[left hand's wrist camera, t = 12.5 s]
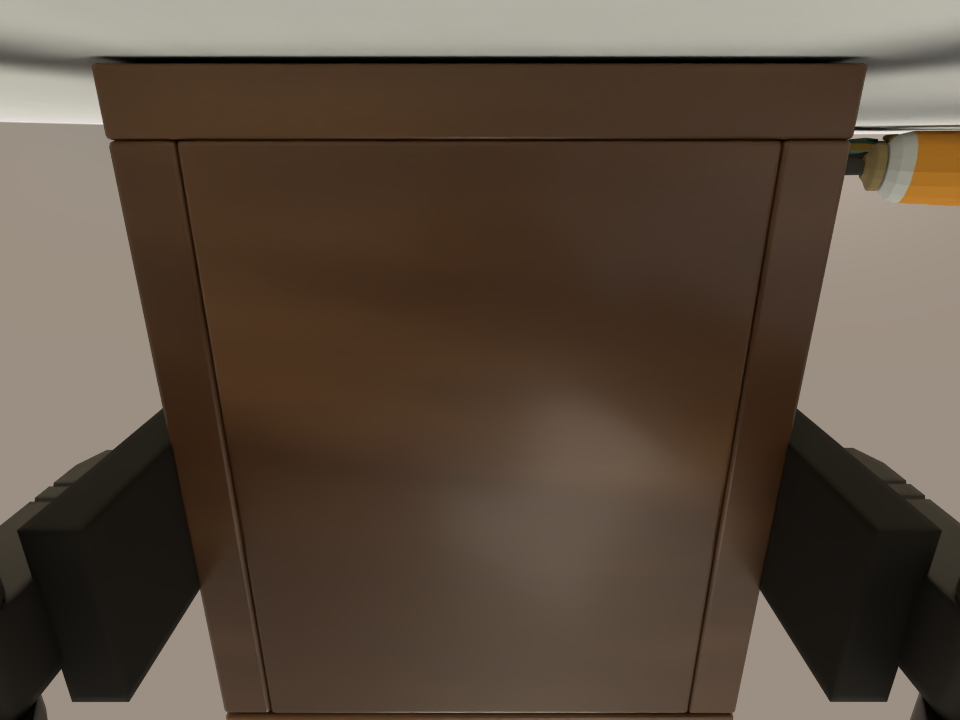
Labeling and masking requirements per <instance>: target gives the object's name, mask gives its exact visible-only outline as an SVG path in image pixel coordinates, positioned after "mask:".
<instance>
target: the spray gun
mask: <svg viewBox="0 0 960 720" xmlns="http://www.w3.org/2000/svg"><path fill="white" fill-rule="evenodd" d="M883 140H884V141H878V139H872V138H858V139H849V140H847V141H849V142H850V151H849V155H848V160H847V165H846V170H845V175H859V178H860V179H861V181H862V182H863V185H864V188H865V190H866V191H875V190H876V191H877V192H878V193H879V194H880V196H881V197H882V198H883V199H884V200H887V201H891V202H894V203H908V204H928V205H949V206H960V131H912V132H908V133H903V134H900V135H899V134H892V135H885V136H884V137H883Z"/></svg>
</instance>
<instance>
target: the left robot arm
mask: <svg viewBox="0 0 960 720" xmlns="http://www.w3.org/2000/svg"><path fill="white" fill-rule="evenodd" d="M199 590H200V586H199V581H198V576H197V571H196V566H195V561H194V557H193V552H192V547H191V542H190V537H189V532H188V527H187V522H186V518H185V513H184V508H183V503H182V498H181V493H180V488H179V483H178V479H177V474H176V469H175V464H174V459H173V454H172V449H171V444H170V440H169V435H168V430H167V426H166V421H165V416H164V411H163V409H161V410H160V411H159V412H158V413H157V414H155V415H154V416H153V417H152V418H151V419H149V420H148V421H147V422H146V423H145V424H143V425H142V426H141V427H140V428H139V429H137V430H136V431H135V432H134V433H133V434H131V435H130V436H129V437H128V438H127V439H125V440H124V441H123V442H122V443H121V444H119V445H118V446H117V447H116V448H115V449H114V450H106V451H104V452H102V453H100V454H98V455H96V456H94V457H92V458H90V459H88V460H86V461H84V462H82V463H79V464H77V465H76V466H74V467H73V468H72V469H71V470H69V471H68V472H67V473H66V474H64V475H63V476H62V477H61V478H59V479H58V480H57V481H56V482H54V486H53V487H48V488H47V489H46V490H44V491H43V492H42V493H41V494H39V495H38V496H37V497H36V498H35V501H34V502H29V503H28V504H27V505H25V506H24V507H23V508H22V509H20V510H19V511H18V512H17V513H15V514H14V515H13V516H12V517H10V518H9V519H8V520H7V521H5V522H4V523H3V524H2V525H0V720H47V712H46V707H45V704H44V701H43V698H42V695H41V694H42V692H43V691H44V690H45V689H46V687H47V686H48V685H49V684H50V682H51V681H52V680H53V679H54V677H55V676H56V675H57V674H58V672H59V671H60V670H61V669H62V672H63V675H64V678H65V681H66V684H67V687H68V690H69V693H70V696H71V699H72V702H129V701H130V699H131V698H132V696H133V695H134V693H135V692H136V690H137V688H138V687H139V685H140V684H141V682H142V680H143V679H144V677H145V676H146V674H147V672H148V671H149V669H150V668H151V666H152V664H153V663H154V661H155V660H156V658H157V656H158V655H159V653H160V652H161V650H162V648H163V647H164V645H165V644H166V642H167V641H168V639H169V637H170V636H171V634H172V633H173V631H174V629H175V628H176V626H177V624H178V623H179V621H180V620H181V618H182V617H183V615H184V613H185V612H186V610H187V609H188V607H189V605H190V604H191V602H192V601H193V599H194V597H195V596H196V594H197V593H198V591H199ZM760 591H761V592H762V594H763V595H764V597H765V598H766V600H767V602H768V603H769V605H770V606H771V608H772V610H773V611H774V613H775V614H776V616H777V618H778V619H779V621H780V622H781V624H782V626H783V627H784V629H785V630H786V632H787V634H788V635H789V637H790V638H791V640H792V642H793V643H794V645H795V646H796V648H797V650H798V651H799V653H800V654H801V656H802V658H803V659H804V661H805V662H806V664H807V665H808V667H809V669H810V670H811V672H812V673H813V675H814V677H815V678H816V680H817V681H818V683H819V685H820V686H821V688H822V689H823V691H824V693H825V694H826V696H827V697H828V699H829V701H830V702H887V700H888V697H889V694H890V691H891V688H892V685H893V681H894V678H895V675H896V672H897V669H898V666H899V667H900V669H901V670H902V671H903V672H904V674H905V675H906V676H907V677H908V679H909V680H910V681H911V682H912V684H913V685H914V686H915V687H916V689H917V690H918V691H919V695H918V698H917V701H916V704H915V707H914V710H913V713H912V716H911V718H910V720H960V523H959V522H958V521H956V520H955V519H954V518H953V517H951V516H950V515H949V514H948V513H946V512H945V511H944V510H943V509H941V508H940V507H939V506H937V505H936V504H935V503H934V502H932V501H931V500H930V499H925V495H924V494H922V493H921V492H920V491H919V490H917V489H916V488H915V487H913V486H912V485H911V484H906V480H905V479H903V478H902V477H901V476H900V475H898V474H897V473H896V472H895V471H893V470H892V469H891V468H890V467H888V466H887V465H886V464H884V463H883V462H881V461H879V460H877V459H875V458H873V457H870V456H868V455H866V454H864V453H862V452H860V451H858V450H856V449H854V448H843V447H842V446H841V445H840V444H839V443H837V442H836V441H835V440H834V439H833V438H831V437H830V436H829V435H828V434H827V433H825V432H824V431H823V430H822V429H821V428H819V427H818V426H817V425H816V424H815V423H813V422H812V421H811V420H810V419H809V418H808V417H806V416H805V415H804V414H803V413H802V412H800V411H799V410H798V409H796V414H795V419H794V424H793V429H792V434H791V439H790V444H789V447H788V452H787V457H786V462H785V467H784V472H783V477H782V482H781V486H780V491H779V496H778V501H777V506H776V511H775V516H774V521H773V526H772V530H771V535H770V540H769V545H768V550H767V555H766V560H765V565H764V570H763V574H762V579H761V584H760Z"/></svg>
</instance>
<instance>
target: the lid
mask: <svg viewBox="0 0 960 720" xmlns="http://www.w3.org/2000/svg"><path fill="white" fill-rule="evenodd" d="M226 720H733V714H732V713H691V712H689V710H687V712H685V713H274V712H273V711H272V708H271V710H270V711H269V712H228V713H227V715H226Z"/></svg>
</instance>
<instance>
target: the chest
mask: <svg viewBox="0 0 960 720" xmlns="http://www.w3.org/2000/svg"><path fill="white" fill-rule="evenodd" d="M866 70H867V65H865V64H863V63H96V64H94V65H92V71H93V76H94V80H95V85H96V90H97V95H98V100H99V105H100V110H101V114H102V119H103V124H104V129H105V134H106V136H107V138H108V139H111V140H114V141H112V142H111V143H110V146H109V148H110V153H111V158H112V162H113V167H114V172H115V177H116V182H117V187H118V192H119V196H120V201H121V206H122V211H123V216H124V221H125V226H126V231H127V236H128V240H129V245H130V250H131V255H132V260H133V265H134V270H135V274H136V279H137V284H138V289H139V294H140V299H141V304H142V309H143V313H144V318H145V323H146V328H147V333H148V338H149V343H150V347H151V352H152V357H153V362H154V367H155V372H156V377H157V382H158V386H159V391H160V396H161V401H162V406H163V411H164V416H165V421H166V426H167V430H168V435H169V440H170V444H171V449H172V454H173V459H174V464H175V469H176V474H177V479H178V483H179V488H180V493H181V498H182V503H183V508H184V513H185V518H186V522H187V527H188V532H189V537H190V542H191V547H192V552H193V557H194V561H195V566H196V571H197V576H198V581H199V586H200V591H201V596H202V601H203V606H204V611H205V616H206V620H207V625H208V630H209V635H210V640H211V645H212V650H213V655H214V659H215V664H216V669H217V674H218V679H219V684H220V689H221V694H222V698H223V703H224V708H225V711H226V712H269V711H270V710H271V708H272V711H273V712H274V713H685V712H687V710H689V712H691V713H733V712H734V711H735V707H736V703H737V698H738V693H739V688H740V683H741V678H742V673H743V668H744V663H745V659H746V654H747V649H748V644H749V639H750V634H751V629H752V624H753V619H754V615H755V610H756V605H757V600H758V595H759V590H760V584H761V579H762V574H763V570H764V565H765V560H766V555H767V550H768V545H769V540H770V535H771V530H772V526H773V521H774V516H775V511H776V506H777V501H778V496H779V491H780V486H781V482H782V477H783V472H784V467H785V462H786V457H787V452H788V447H789V444H790V439H791V434H792V429H793V424H794V419H795V414H796V409H797V405H798V400H799V395H800V390H801V385H802V380H803V375H804V370H805V366H806V361H807V356H808V351H809V346H810V341H811V336H812V331H813V326H814V321H815V317H816V312H817V307H818V302H819V297H820V292H821V287H822V282H823V278H824V273H825V268H826V263H827V258H828V253H829V248H830V243H831V239H832V234H833V229H834V224H835V219H836V214H837V209H838V204H839V199H840V195H841V190H842V185H843V180H844V175H845V170H846V165H847V160H848V155H849V151H850V142H849V141H847V140H848V139H850V138H852V136H853V134H854V129H855V124H856V119H857V114H858V109H859V104H860V100H861V95H862V90H863V85H864V80H865V75H866Z"/></svg>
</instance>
